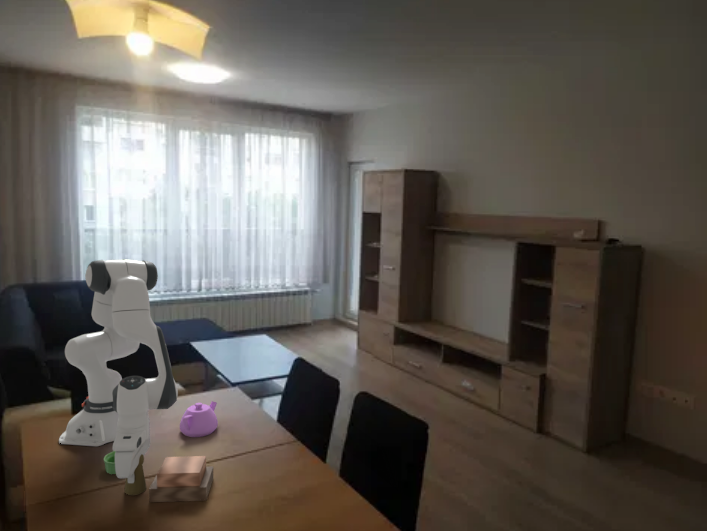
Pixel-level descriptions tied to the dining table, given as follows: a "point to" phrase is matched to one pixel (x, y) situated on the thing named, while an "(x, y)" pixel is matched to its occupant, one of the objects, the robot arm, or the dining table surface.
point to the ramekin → (110, 463)
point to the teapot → (199, 420)
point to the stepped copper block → (182, 480)
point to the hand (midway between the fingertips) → (135, 476)
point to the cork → (137, 480)
